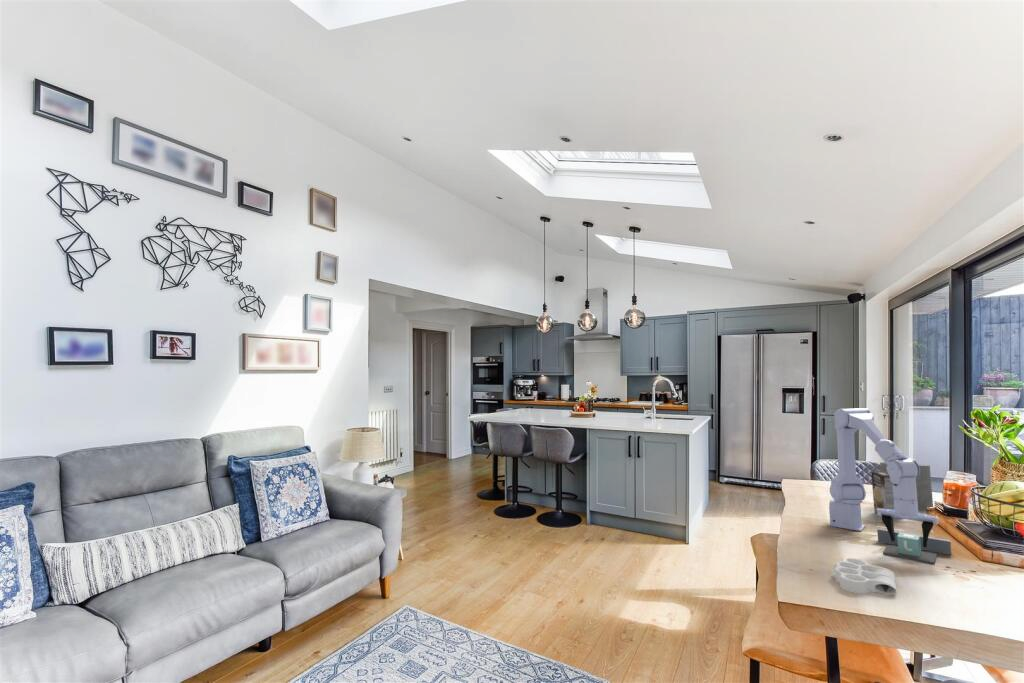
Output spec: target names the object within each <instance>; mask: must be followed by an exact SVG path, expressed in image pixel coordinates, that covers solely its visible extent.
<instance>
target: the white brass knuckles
mask: <svg viewBox="0 0 1024 683" xmlns="http://www.w3.org/2000/svg"><path fill="white" fill-rule="evenodd" d="M830 569H832V570H834V572H832V573H829V574H828V575H829V576H830V577H833V578H834V579H835V580H836V582H838V583H839V584H840V588H841V589H843V590H845V591H847V592H850V593H855V594H867V593H871V592H875V593H880V594H884V595H889V596H891V595H896V594H897V591H898V590H897V584H896V577H895V576H896V575H895V573H894V571H892V570H891V569H889V568H885V567H882V566H879V565H873V564H870V563H868V562H867V561H865V560H862V559H860V558H856V557H843V558H842V559H841V561H837V562H836V563H835V564H834V566H830ZM883 585H885V586H886V585H887V591H885V590H884V586H883Z"/></svg>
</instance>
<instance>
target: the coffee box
mask: <svg viewBox="0 0 1024 683" xmlns="http://www.w3.org/2000/svg"><path fill="white" fill-rule="evenodd" d="M871 483H872V497H873V499H872V500H873V510H874V512H875V513H876V514H877V509H878V508H881V509H893V510H895V508H894V495H893V483H892V482H891V481H890V476H889V474H888V472H887V471H881V470H880V471H878V470H877V471H876V470H875V471H874V470H872V471H871ZM897 519H898V520H899V519H900V520H901V518H897Z"/></svg>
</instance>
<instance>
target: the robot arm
mask: <svg viewBox="0 0 1024 683" xmlns="http://www.w3.org/2000/svg"><path fill="white" fill-rule="evenodd" d="M833 417H834V429H835V430H836V442H837V461H838V464H837V466H838V467H837V468H838V473H837V474H836V475H835V476H834V477H832V478H830V487H829V493H830V497H831V498H832V499H830V500H829V504H828V511H829V526H830V527H834V528H839V529H846V530H852V531H857V532H862V531H863V529H864V528H865V527H866V524H865V523H864V524H863V522H862V519H863V518H862V508H861V504H863V501H864V500H865V499H866V496H867V495H866V494H867V493H866V492H867V491H866V489H865V486H864V481H863V480H862V479H861V478H859V477H858V476H857V470H856V469H857V466H856V449H855V448H856V447H855V446H856V444H855V443H856V442H855V433H856V432H857V431H858V430H861V432H863V434H865V435H866V437H868V439H869V440H870V441H871V442H872V443H873V444H874V445H875V446H874V451H875V452H876V453H877V454H878V456H879V457H880V458H881V460H882V462H885V463H886V464H887V467H886V469H887V472H888V474H889V476H890V481H891V482H892V483H893V495H894V508H895V510H893V509H881V508H878V509H877V513H876V515H877V516H879V517H881V522H882V523H883V524H884V526H885V528H886V530H888V532H889V534H890V537H891V541H895V533H894V531H895V528H894V527H895V524H894V522H895V521H894V520H895V519H898V518H901V519H902V520H908V521H914V522H921V530H922V536H923V547H927V540H928V537H930V534H931V531H932V530H933V527H934V525H936V526H937V525H938V524H939V517H938V516H936V515H935V516H934V515H929V514H925V513H921V512H919V510H918V502H917V490H916V478H917V477H918V476H919V475H920V467H919V465H918V464H919V463H918V462H917V460H915V459H914V458H910V457H909V456H907V455H905V454H904V453H903V451H902V450H901V449H900V448H899V447H898V446H897V445H896V443H895V442H894V441H893V440H889V439H887V438H886V437H885V436H884V435H883V433H882V431H881V430H880V429H879V427H878V426H877V425H876V423H875V416H874V414H873V413H872V412H871V410H870V409H869V408H867V407H862V408H860V407H859V408H838V409H837V410H836V411H835V412H834V413H833ZM901 519H900V520H901Z"/></svg>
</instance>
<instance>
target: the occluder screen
mask: <svg viewBox="0 0 1024 683" xmlns="http://www.w3.org/2000/svg"><path fill="white" fill-rule="evenodd" d="M876 531H877V542H878V543H884V544H887V545H893V546H898V541H897V536H898V534H899V532H901V533H905V532H903V531H896V530H894V533H895V541H891V537H890V534H889V532H888V530H887V528H886V529H885V528H881V527H878V528H877V529H876ZM906 533H907V534H911V533H909V532H906ZM912 534H913V535H917V534H915V533H912ZM918 535H919V536H920V541H921V551H925V552H931V553H936V554H943V555H949V556H952V545H951V543H952V542H951V540H950V539H944V538H938V537H933V536H928V540H927V547H923V534H922V535H921V534H918Z"/></svg>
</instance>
